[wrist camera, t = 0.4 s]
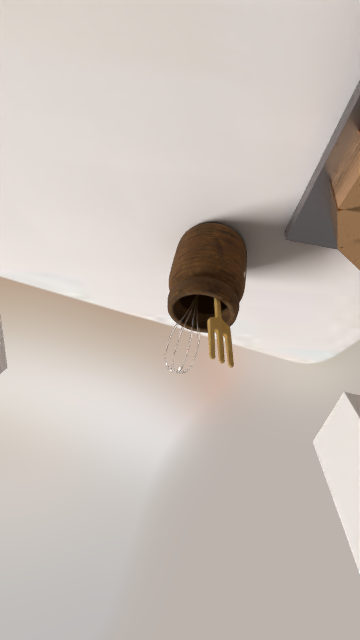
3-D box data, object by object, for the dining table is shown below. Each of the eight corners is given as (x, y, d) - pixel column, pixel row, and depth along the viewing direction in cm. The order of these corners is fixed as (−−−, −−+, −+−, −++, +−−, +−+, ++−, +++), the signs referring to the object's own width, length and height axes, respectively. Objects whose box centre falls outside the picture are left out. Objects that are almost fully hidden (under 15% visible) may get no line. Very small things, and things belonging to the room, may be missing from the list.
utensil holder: (166, 254, 25) (129, 375, 18) (205, 201, 20) (174, 341, 13) (219, 283, 27) (203, 403, 20) (265, 241, 22) (265, 381, 15)
